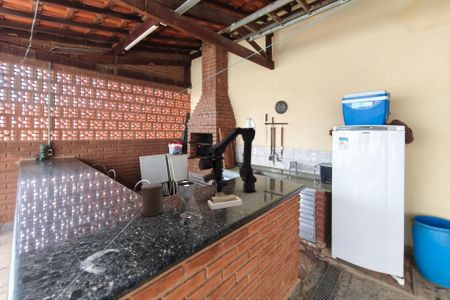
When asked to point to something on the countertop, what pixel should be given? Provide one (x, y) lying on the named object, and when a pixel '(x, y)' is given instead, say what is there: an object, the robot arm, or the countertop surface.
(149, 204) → the pillar candle
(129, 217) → the countertop surface
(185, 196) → the wine glass
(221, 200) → the t block
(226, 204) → the bracket
